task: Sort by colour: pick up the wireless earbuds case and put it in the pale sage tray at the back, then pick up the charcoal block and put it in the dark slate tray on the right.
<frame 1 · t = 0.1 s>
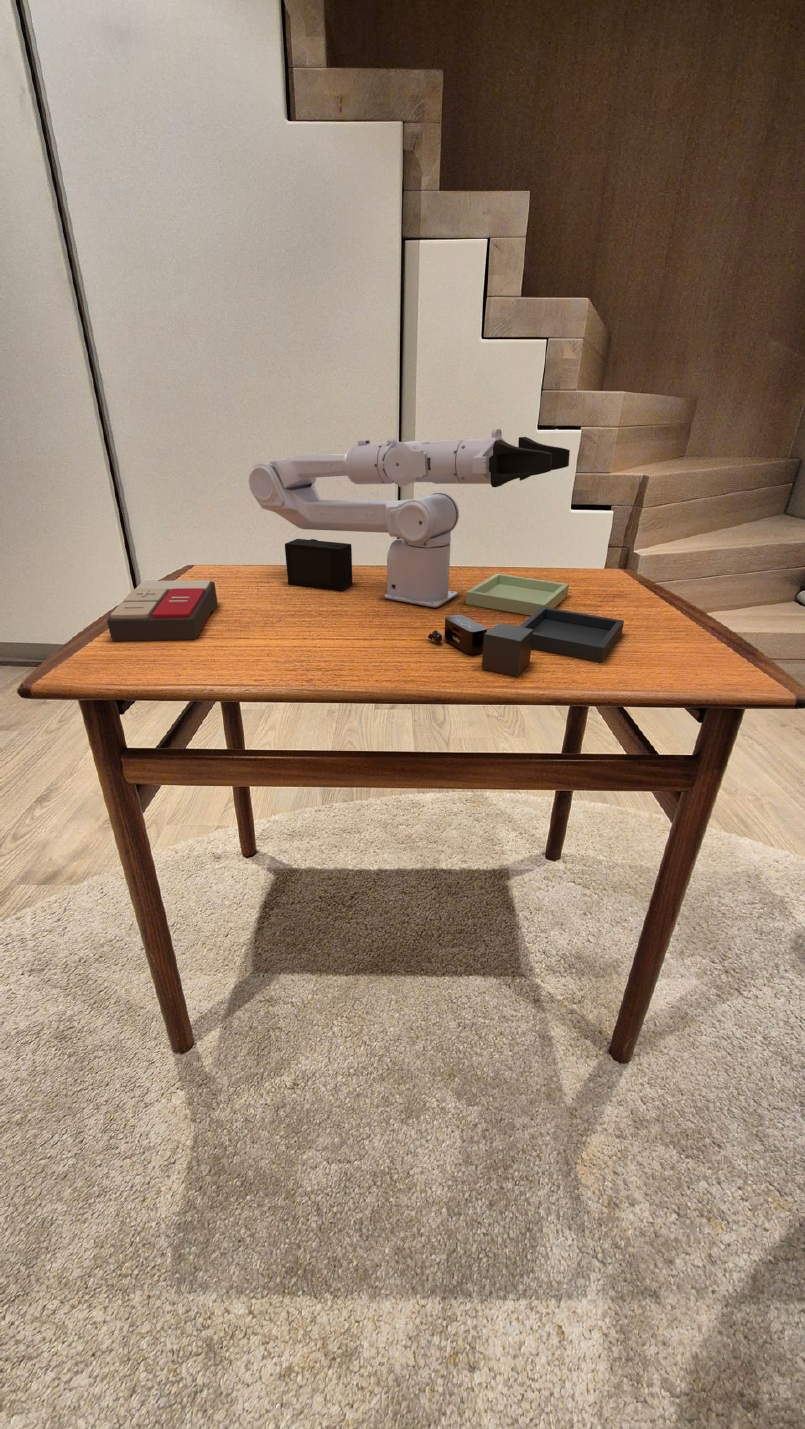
hand: (560, 460, 78), 22 cm above the table, tool horizontal, fingers open, 7 cm apart
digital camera: (322, 584, 103), on the table
pale tray: (517, 600, 96), on the table
calculator: (169, 623, 85), on the table
wireless earbuds: (456, 647, 78), on the table
charcoal block: (505, 666, 73), on the table
dark tray: (568, 639, 81), on the table
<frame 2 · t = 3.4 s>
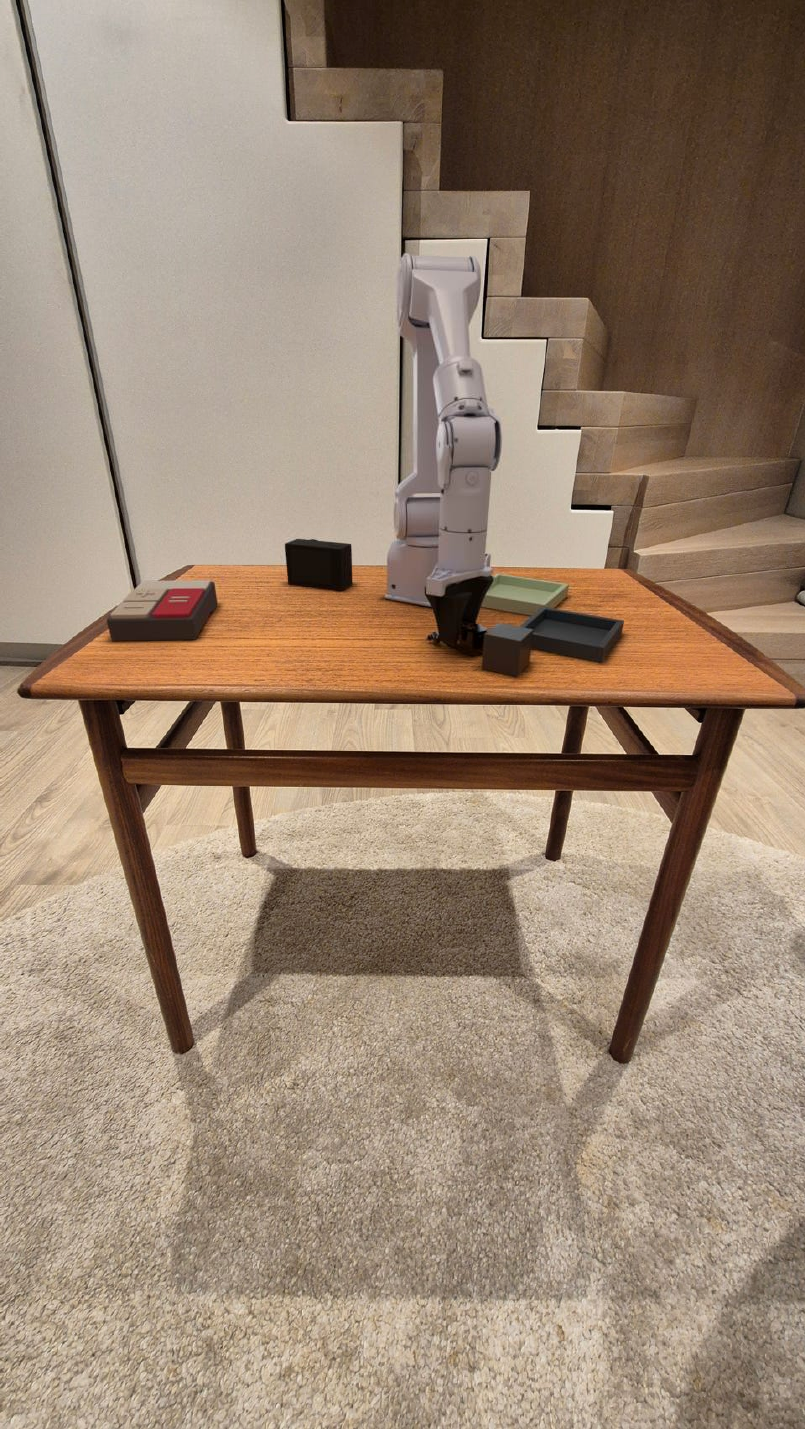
hand: (456, 635, 78), 1 cm above the table, tool pointing down, fingers closed on wireless earbuds, 4 cm apart
wireless earbuds: (455, 648, 78), on the table, touching gripper
everything else where it was.
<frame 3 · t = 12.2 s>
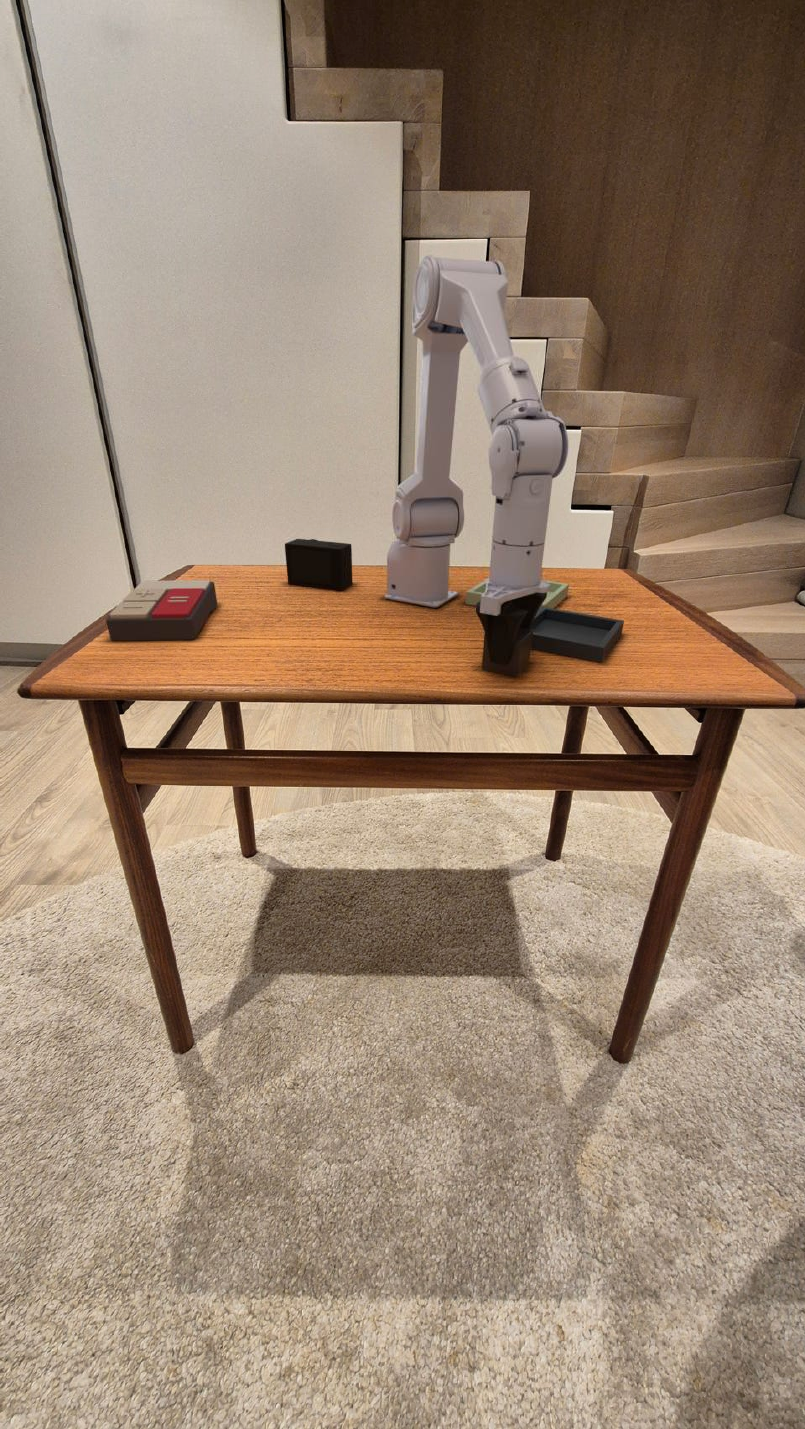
hand: (506, 655, 72), 1 cm above the table, tool pointing down, fingers closed on charcoal block, 4 cm apart
wireless earbuds: (517, 599, 95), resting on pale tray
charcoal block: (505, 666, 73), on the table, touching gripper
everything else where it was.
when the fingers open (2 cm above the table, at t = 16.2 s): charcoal block stays where it is, resting on dark tray.
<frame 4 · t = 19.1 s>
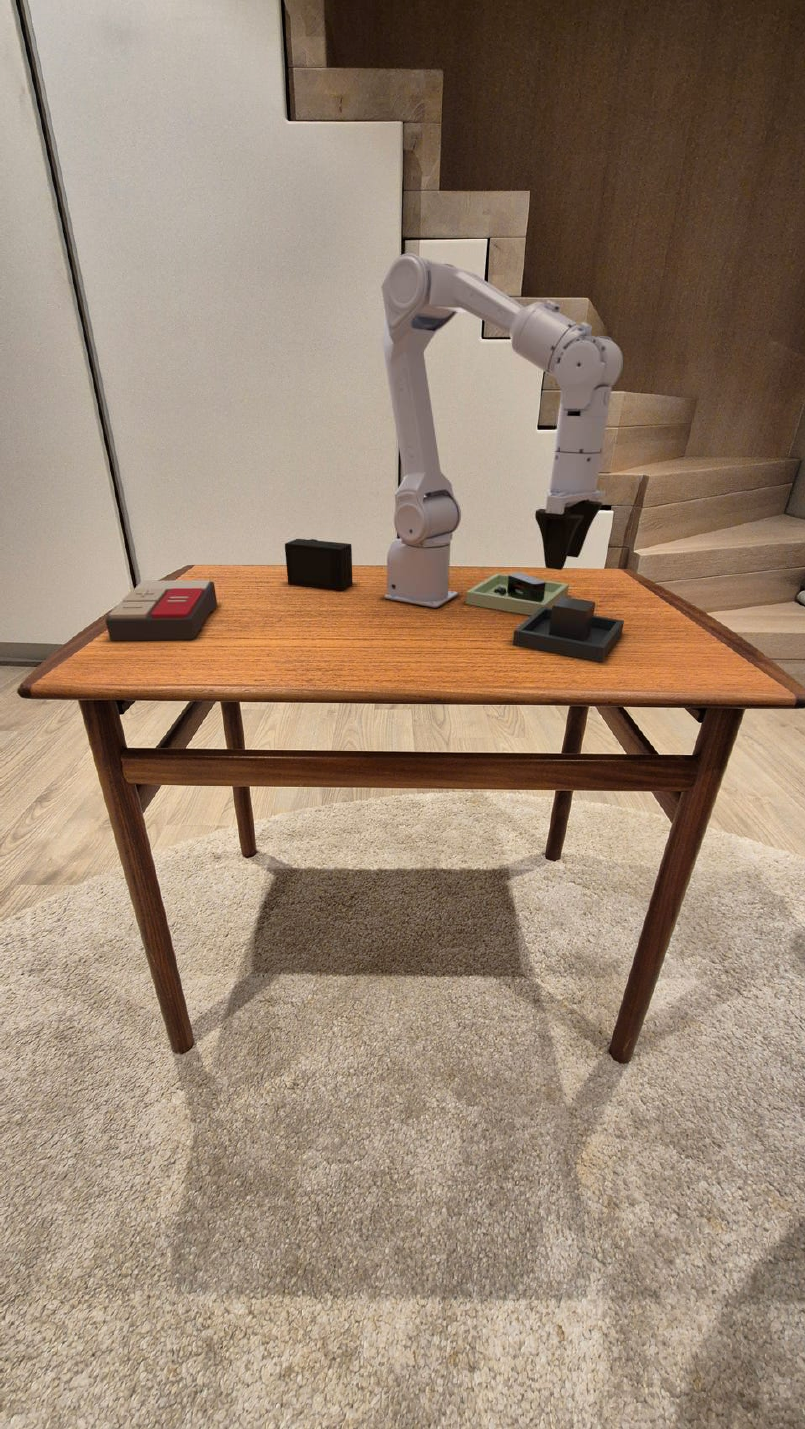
hand: (562, 562, 80), 9 cm above the table, tool pointing down, fingers open, 7 cm apart
charcoal block: (569, 635, 81), resting on dark tray
everything else where it was.
at the end: wireless earbuds inside the target area in the pale tray (0.5 cm from its centre), point 0.3 cm above the pale tray's base; charcoal block inside the target area in the dark tray (0.1 cm from its centre), point 0.5 cm above the dark tray's base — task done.
